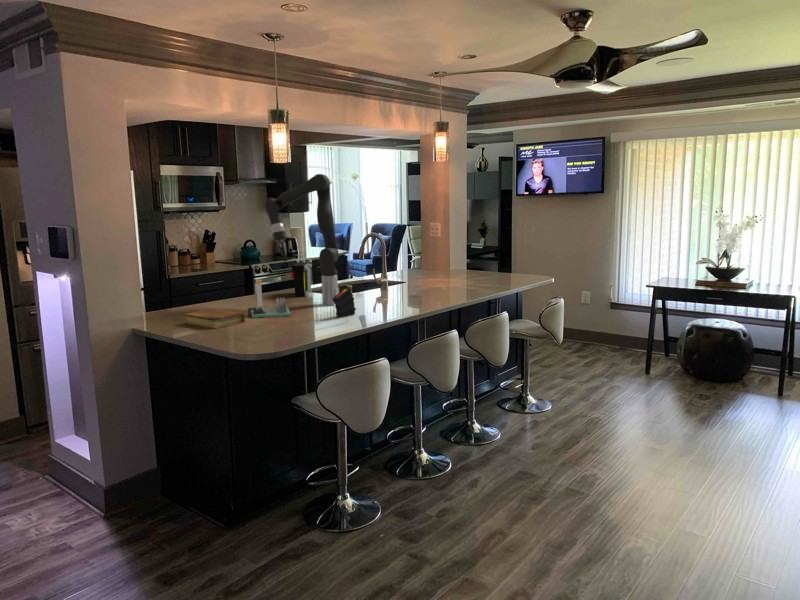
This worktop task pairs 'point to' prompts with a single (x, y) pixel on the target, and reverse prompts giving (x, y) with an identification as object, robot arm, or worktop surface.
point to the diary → (214, 318)
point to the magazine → (344, 303)
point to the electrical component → (301, 278)
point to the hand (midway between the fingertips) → (285, 260)
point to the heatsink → (280, 309)
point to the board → (271, 313)
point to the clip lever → (259, 294)
